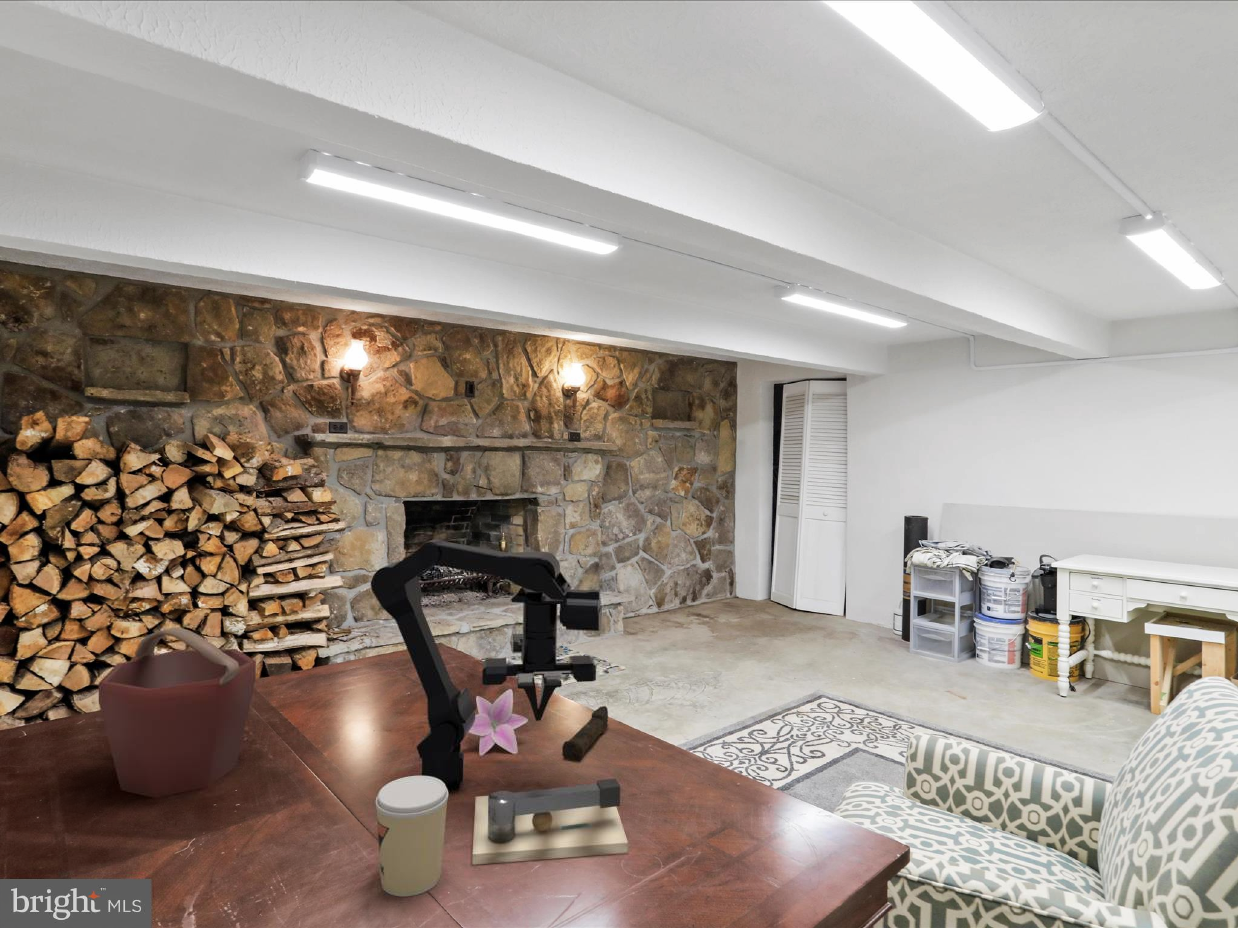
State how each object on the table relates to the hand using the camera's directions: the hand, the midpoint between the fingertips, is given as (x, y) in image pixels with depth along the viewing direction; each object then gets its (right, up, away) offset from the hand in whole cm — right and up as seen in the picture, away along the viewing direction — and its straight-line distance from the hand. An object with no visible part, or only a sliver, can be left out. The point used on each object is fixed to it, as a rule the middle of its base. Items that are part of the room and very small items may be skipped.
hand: (538, 719), depth 120 cm
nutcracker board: (+3, -13, -11) cm, 17 cm away
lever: (+4, -11, -14) cm, 18 cm away
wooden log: (+7, -12, +21) cm, 25 cm away
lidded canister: (-14, -13, -24) cm, 31 cm away
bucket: (-63, -11, +3) cm, 64 cm away
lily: (-10, -12, +17) cm, 23 cm away
